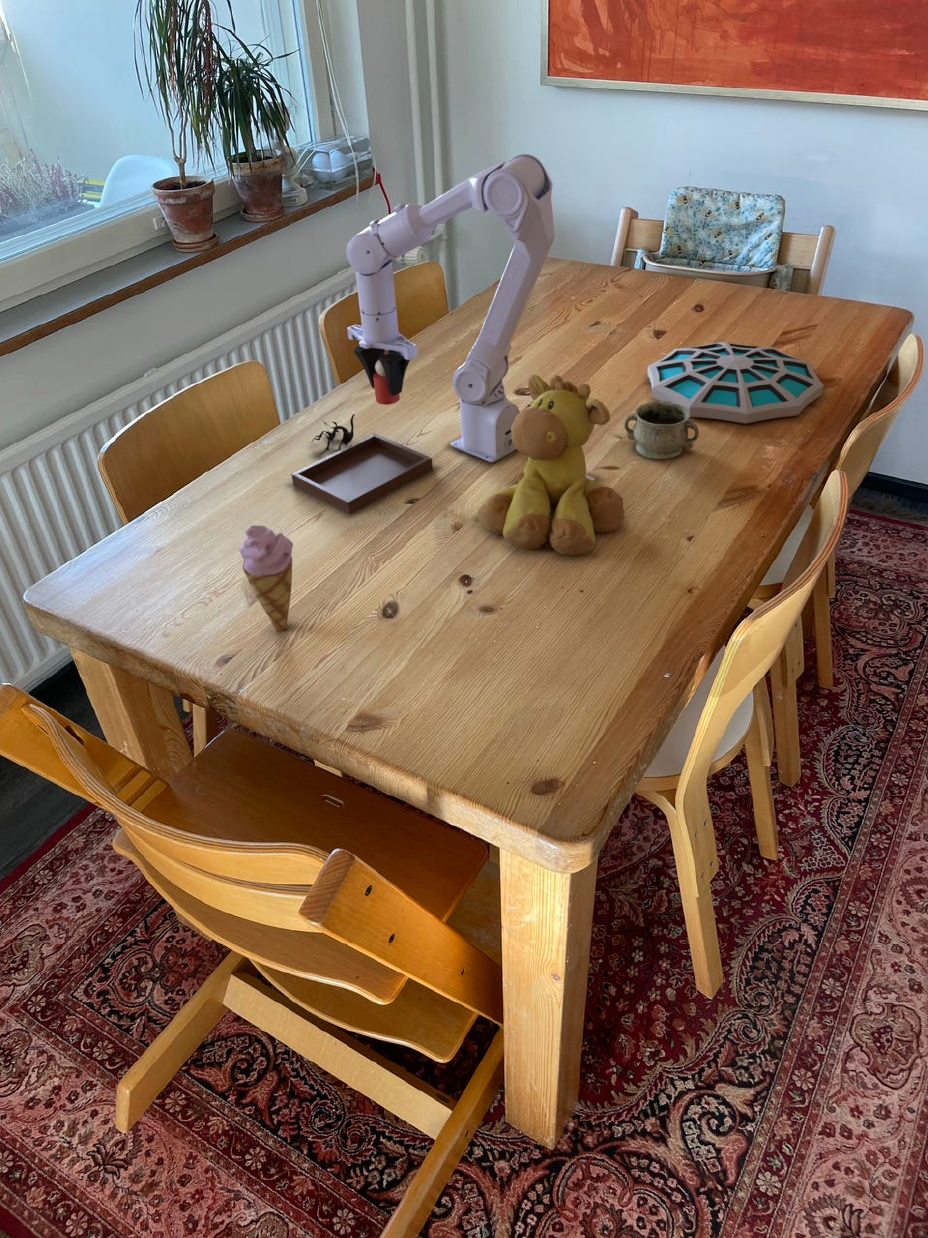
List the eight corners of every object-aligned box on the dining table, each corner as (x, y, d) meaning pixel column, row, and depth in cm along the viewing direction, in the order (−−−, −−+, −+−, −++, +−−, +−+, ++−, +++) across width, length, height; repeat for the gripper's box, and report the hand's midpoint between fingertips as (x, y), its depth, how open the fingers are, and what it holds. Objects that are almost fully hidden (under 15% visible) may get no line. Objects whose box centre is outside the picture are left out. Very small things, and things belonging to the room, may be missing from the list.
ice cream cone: (260, 612, 122) (237, 513, 113) (307, 607, 122) (289, 509, 113) (255, 644, 117) (231, 543, 108) (305, 640, 117) (286, 539, 108)
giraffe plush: (462, 544, 132) (455, 419, 121) (517, 465, 149) (516, 349, 138) (603, 570, 126) (610, 441, 114) (643, 484, 143) (654, 364, 131)
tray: (433, 469, 150) (432, 457, 148) (349, 514, 140) (347, 502, 139) (375, 444, 157) (374, 433, 156) (293, 485, 148) (291, 473, 146)
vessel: (616, 455, 151) (618, 419, 147) (629, 431, 157) (632, 396, 153) (690, 466, 147) (695, 429, 143) (701, 440, 153) (706, 405, 149)
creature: (307, 462, 156) (351, 455, 153) (296, 433, 153) (340, 426, 150) (322, 440, 162) (364, 433, 159) (311, 412, 159) (354, 404, 156)
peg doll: (404, 398, 157) (400, 357, 152) (387, 406, 155) (382, 365, 150) (388, 392, 159) (384, 351, 155) (371, 400, 157) (366, 359, 153)
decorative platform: (627, 411, 163) (629, 383, 160) (664, 347, 184) (666, 322, 181) (812, 434, 153) (818, 406, 150) (829, 364, 174) (834, 338, 171)
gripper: (329, 306, 149) (340, 386, 158) (390, 326, 141) (398, 409, 150) (362, 293, 153) (371, 372, 162) (424, 312, 145) (430, 394, 153)
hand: (386, 389), depth 156 cm, fingers closed on peg doll, 4 cm apart
